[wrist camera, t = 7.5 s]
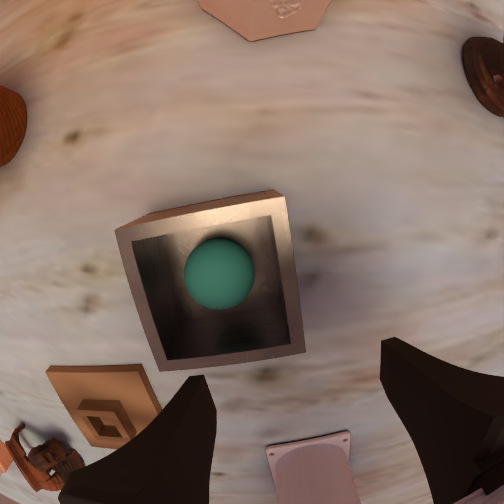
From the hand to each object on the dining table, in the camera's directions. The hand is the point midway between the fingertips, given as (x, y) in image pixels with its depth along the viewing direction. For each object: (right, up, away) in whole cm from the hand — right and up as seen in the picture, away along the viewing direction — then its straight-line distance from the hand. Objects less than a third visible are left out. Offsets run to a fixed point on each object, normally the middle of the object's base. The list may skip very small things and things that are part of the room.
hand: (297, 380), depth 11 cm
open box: (-4, +4, +8) cm, 10 cm away
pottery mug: (-26, -18, +14) cm, 35 cm away
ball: (-4, +4, +6) cm, 8 cm away
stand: (-14, -9, +12) cm, 21 cm away
